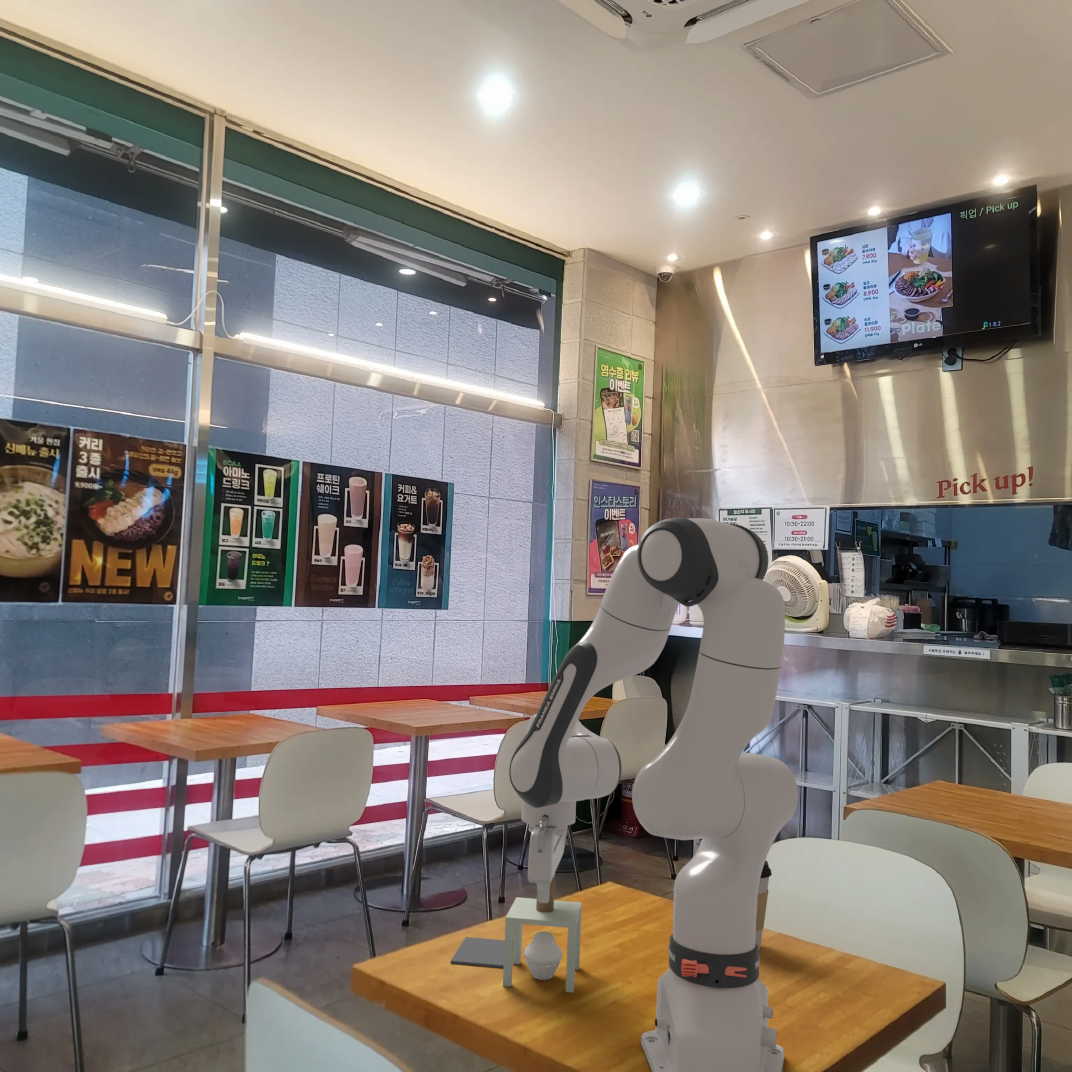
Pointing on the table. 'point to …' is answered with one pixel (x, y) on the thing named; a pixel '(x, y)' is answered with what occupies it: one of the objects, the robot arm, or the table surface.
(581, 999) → the table surface
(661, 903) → the table surface
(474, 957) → the mat
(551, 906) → the cover
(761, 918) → the coffee cup
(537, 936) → the muffin
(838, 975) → the table surface
